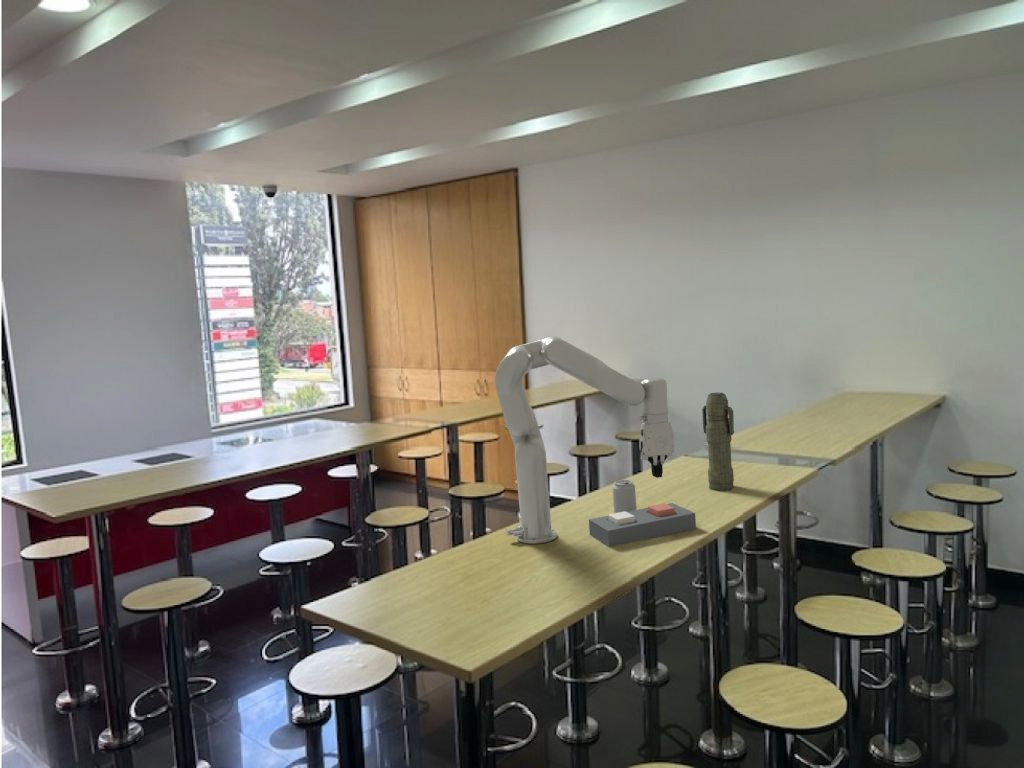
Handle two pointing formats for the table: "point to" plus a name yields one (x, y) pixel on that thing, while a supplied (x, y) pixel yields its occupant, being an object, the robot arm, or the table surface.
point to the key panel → (641, 526)
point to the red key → (661, 510)
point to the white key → (621, 518)
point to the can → (624, 496)
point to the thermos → (719, 441)
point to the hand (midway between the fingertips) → (657, 476)
